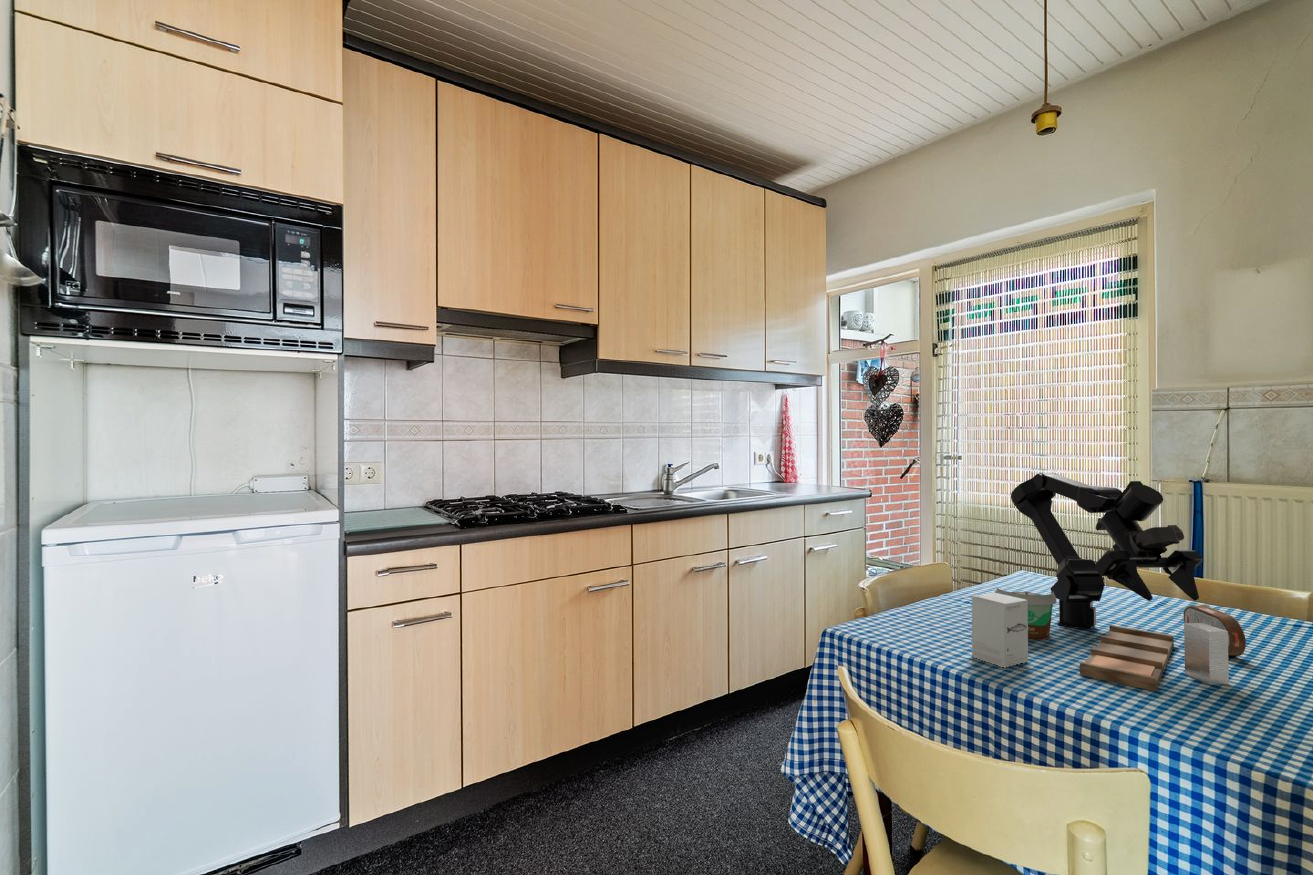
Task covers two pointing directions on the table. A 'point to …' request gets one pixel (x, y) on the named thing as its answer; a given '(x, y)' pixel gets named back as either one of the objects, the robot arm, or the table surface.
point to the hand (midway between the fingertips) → (1173, 599)
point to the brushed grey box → (1206, 653)
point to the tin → (1218, 625)
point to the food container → (1036, 612)
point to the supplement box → (1000, 629)
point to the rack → (1129, 657)
